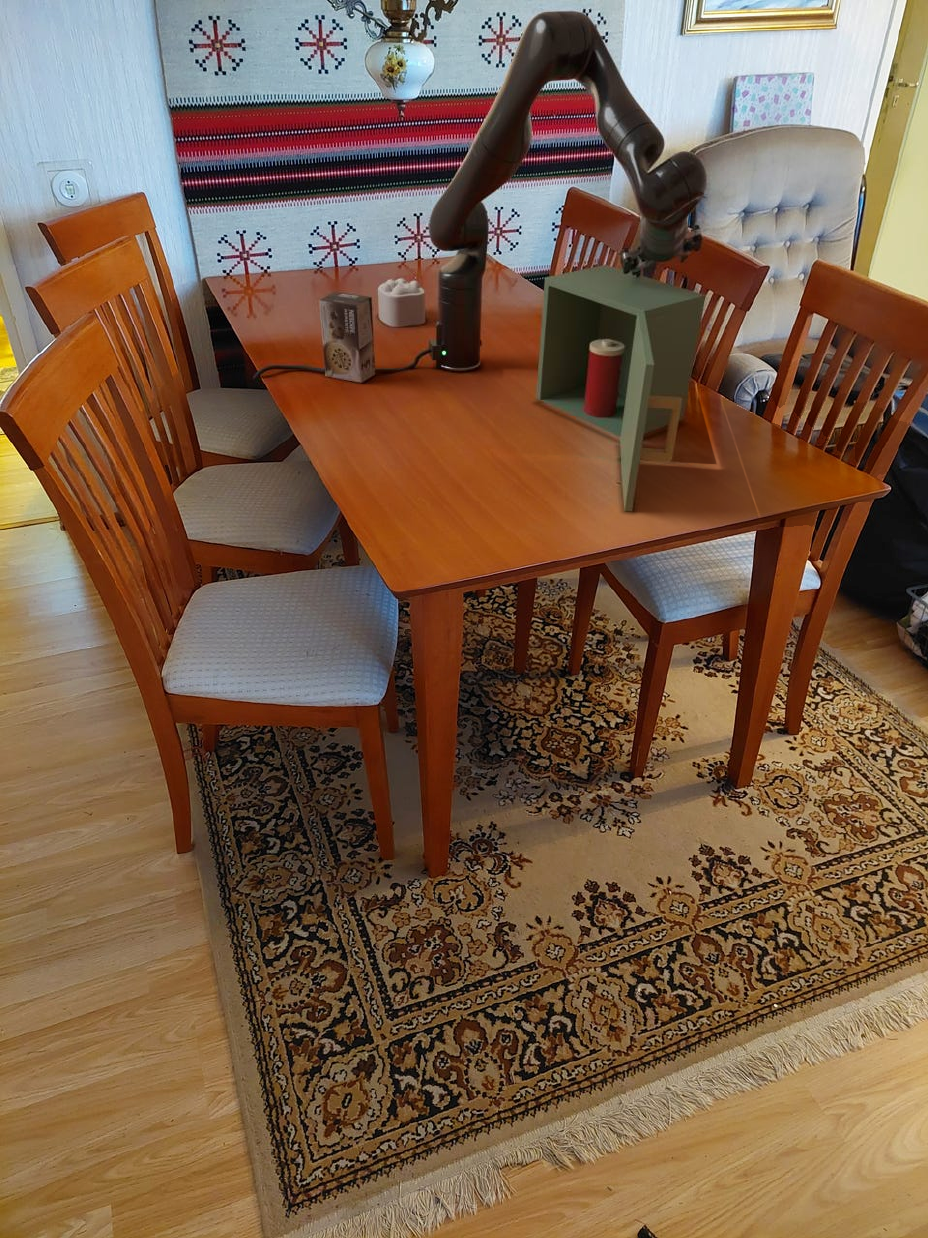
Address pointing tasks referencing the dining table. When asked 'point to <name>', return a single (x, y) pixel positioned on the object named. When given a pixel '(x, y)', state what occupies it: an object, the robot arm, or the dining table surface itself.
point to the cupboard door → (642, 414)
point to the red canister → (603, 377)
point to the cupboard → (615, 338)
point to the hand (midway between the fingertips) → (658, 264)
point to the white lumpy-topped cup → (401, 303)
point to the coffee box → (347, 336)
